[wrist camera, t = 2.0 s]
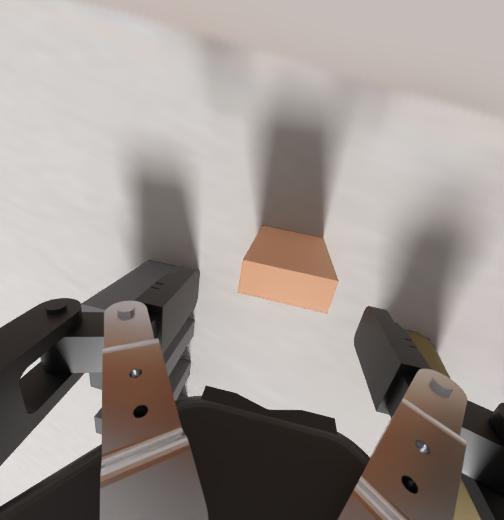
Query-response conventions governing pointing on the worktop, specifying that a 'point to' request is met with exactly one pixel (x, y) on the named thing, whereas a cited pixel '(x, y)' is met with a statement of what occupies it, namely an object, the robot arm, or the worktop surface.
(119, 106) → the worktop surface
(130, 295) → the domino
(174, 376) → the domino
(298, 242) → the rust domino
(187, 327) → the domino
